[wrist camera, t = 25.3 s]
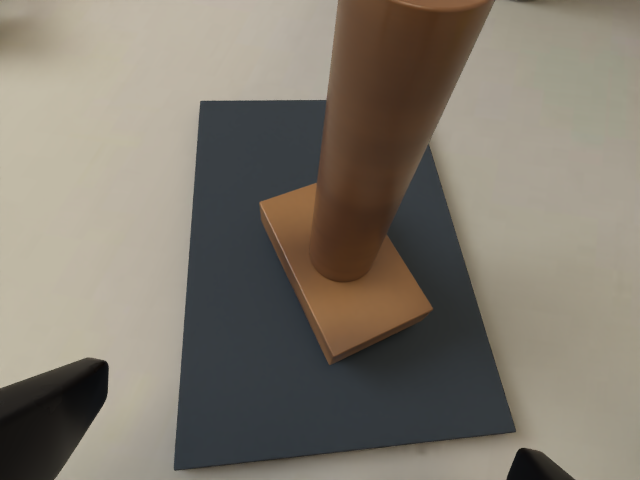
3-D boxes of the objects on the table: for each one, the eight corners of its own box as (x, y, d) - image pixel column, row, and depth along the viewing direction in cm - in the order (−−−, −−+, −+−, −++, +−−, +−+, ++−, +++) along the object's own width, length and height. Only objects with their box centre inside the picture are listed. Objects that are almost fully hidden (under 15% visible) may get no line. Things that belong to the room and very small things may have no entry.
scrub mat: (507, 432, 17) (517, 432, 16) (178, 469, 15) (173, 470, 15) (412, 108, 26) (415, 99, 26) (202, 110, 25) (200, 100, 24)
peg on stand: (414, 328, 18) (686, 68, 6) (326, 371, 17) (436, 155, 5) (340, 204, 21) (416, -138, 9) (262, 232, 20) (224, -119, 8)
